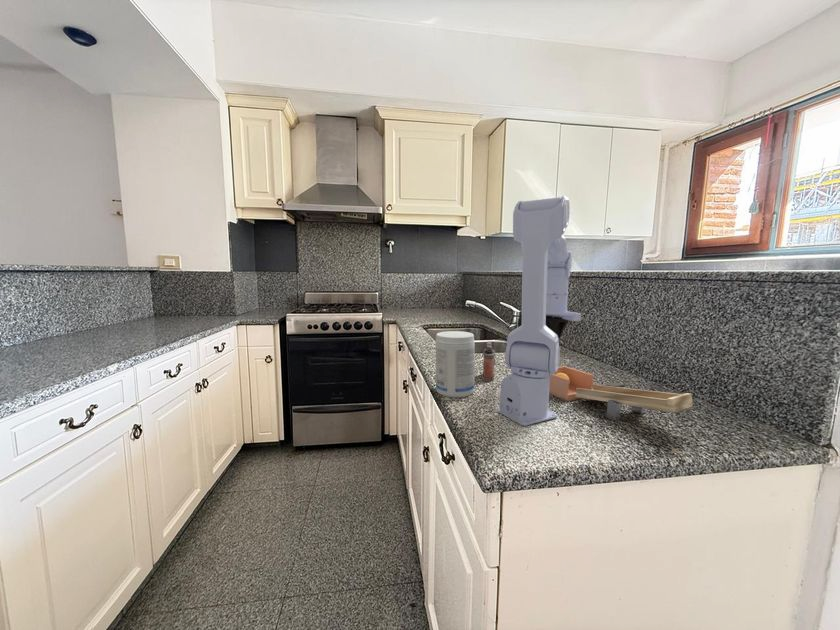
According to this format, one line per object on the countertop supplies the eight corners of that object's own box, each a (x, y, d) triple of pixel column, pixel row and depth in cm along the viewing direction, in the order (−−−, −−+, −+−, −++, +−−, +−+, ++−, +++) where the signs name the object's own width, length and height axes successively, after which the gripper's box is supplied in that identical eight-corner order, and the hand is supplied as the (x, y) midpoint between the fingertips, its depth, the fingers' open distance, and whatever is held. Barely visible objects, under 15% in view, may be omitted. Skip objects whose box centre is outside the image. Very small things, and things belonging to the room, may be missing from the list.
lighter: (494, 382, 88) (496, 346, 87) (482, 381, 89) (483, 345, 88) (494, 373, 96) (495, 340, 95) (482, 372, 97) (483, 340, 95)
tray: (568, 401, 74) (569, 380, 74) (537, 389, 83) (538, 370, 82) (594, 395, 78) (596, 375, 78) (563, 384, 87) (564, 366, 86)
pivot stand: (616, 421, 64) (617, 404, 64) (606, 417, 66) (607, 400, 66) (644, 412, 68) (646, 396, 68) (634, 409, 70) (636, 393, 70)
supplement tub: (474, 386, 84) (475, 331, 82) (473, 400, 75) (475, 338, 73) (437, 384, 86) (438, 330, 84) (432, 397, 77) (433, 336, 75)
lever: (673, 412, 56) (672, 399, 57) (575, 396, 74) (574, 386, 75) (711, 400, 62) (710, 388, 62) (611, 388, 80) (610, 379, 80)
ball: (562, 391, 79) (561, 374, 79) (549, 388, 83) (548, 372, 83) (573, 388, 81) (572, 372, 81) (560, 386, 84) (559, 371, 84)
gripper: (590, 295, 82) (587, 347, 84) (545, 293, 95) (543, 338, 96) (571, 296, 79) (568, 350, 80) (527, 293, 92) (525, 340, 93)
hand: (553, 344), depth 88 cm, fingers closed
